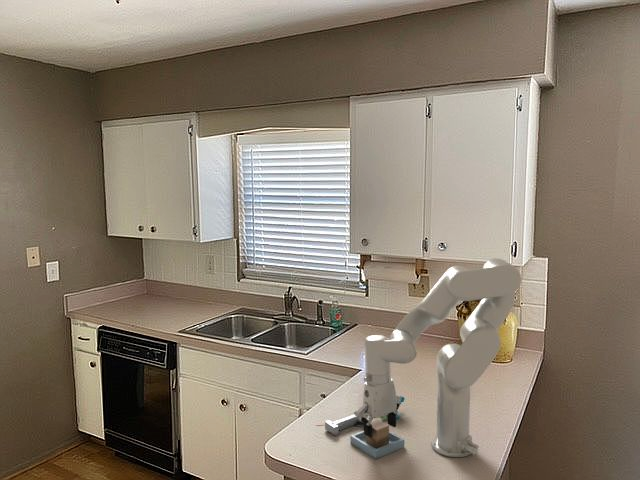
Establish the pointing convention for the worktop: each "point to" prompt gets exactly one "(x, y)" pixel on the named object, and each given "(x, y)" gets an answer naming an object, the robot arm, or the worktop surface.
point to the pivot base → (354, 425)
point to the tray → (393, 445)
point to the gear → (399, 403)
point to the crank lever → (342, 423)
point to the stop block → (378, 434)
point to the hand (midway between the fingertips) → (380, 430)
